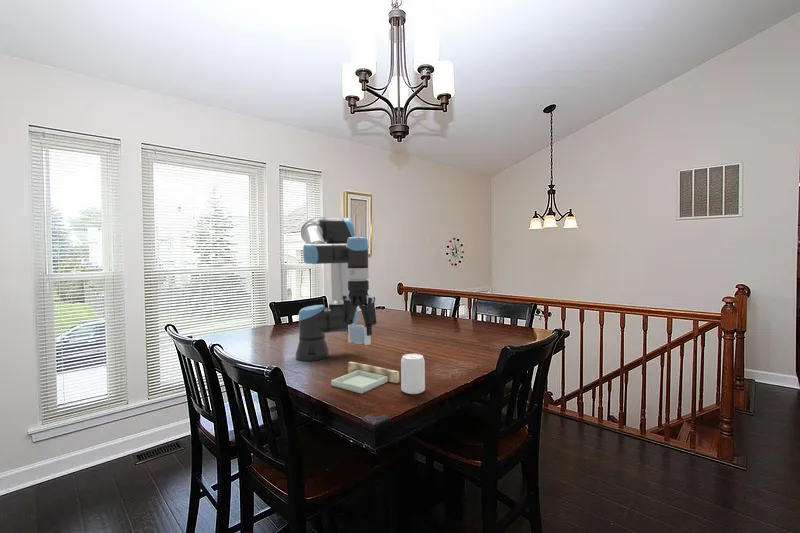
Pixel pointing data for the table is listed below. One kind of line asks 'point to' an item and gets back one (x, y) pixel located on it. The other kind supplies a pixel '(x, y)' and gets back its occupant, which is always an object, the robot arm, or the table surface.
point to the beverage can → (412, 373)
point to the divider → (374, 371)
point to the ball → (357, 334)
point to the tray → (359, 381)
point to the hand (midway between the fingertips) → (359, 343)
